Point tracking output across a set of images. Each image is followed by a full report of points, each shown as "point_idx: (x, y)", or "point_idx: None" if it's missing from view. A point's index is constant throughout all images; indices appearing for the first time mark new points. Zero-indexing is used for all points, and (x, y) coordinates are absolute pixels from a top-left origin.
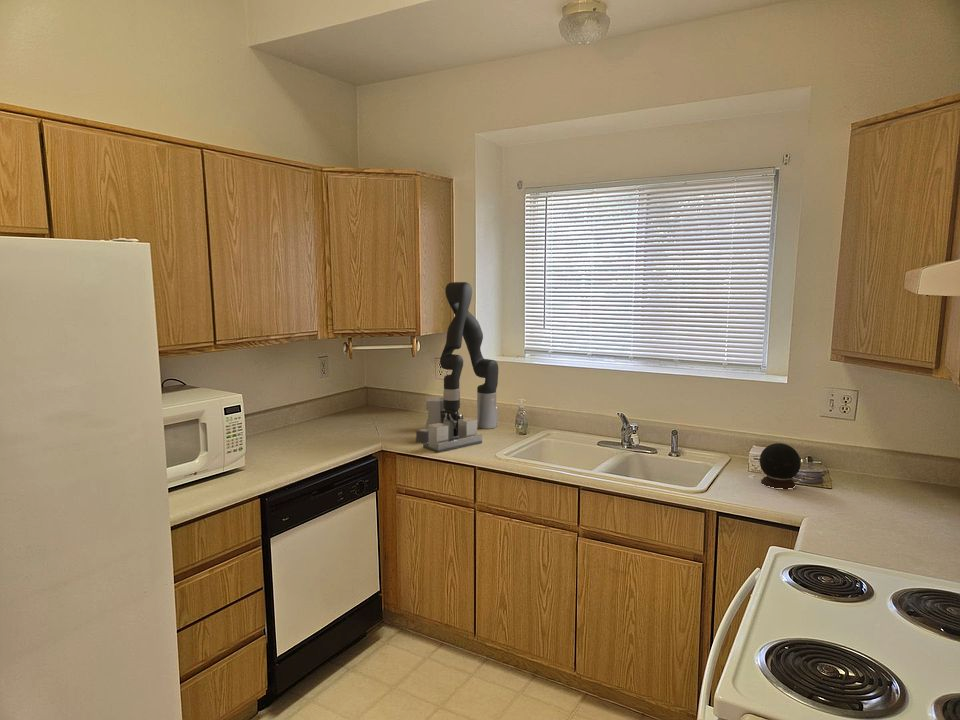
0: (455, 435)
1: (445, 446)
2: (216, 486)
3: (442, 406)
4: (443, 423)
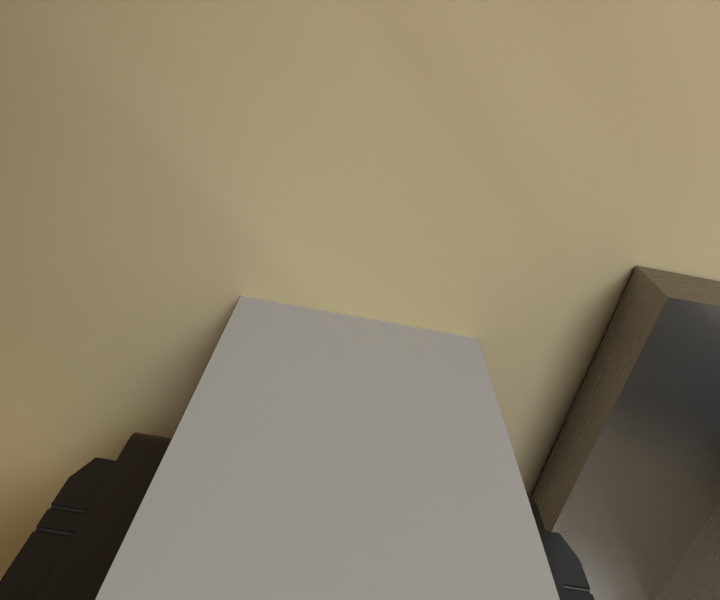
0: None
1: None
2: None
3: None
4: None
